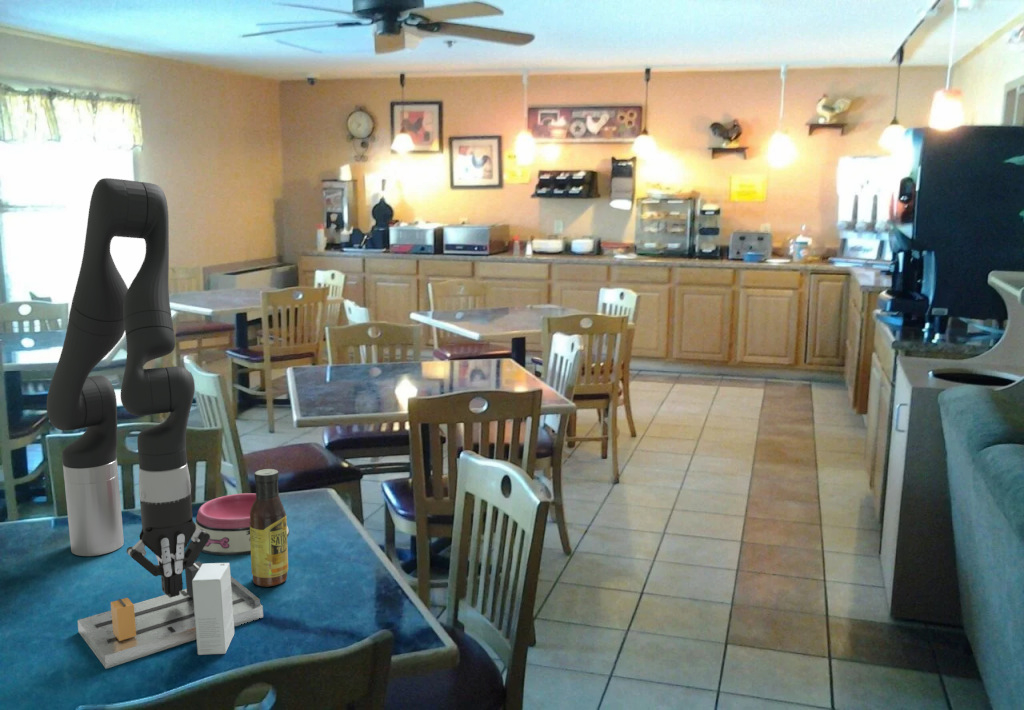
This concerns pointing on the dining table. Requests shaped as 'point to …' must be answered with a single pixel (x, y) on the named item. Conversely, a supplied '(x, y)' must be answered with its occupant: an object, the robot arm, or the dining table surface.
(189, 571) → the block
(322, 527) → the dining table surface
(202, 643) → the skincare box
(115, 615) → the fader orange
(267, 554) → the sauce bottle
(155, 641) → the console
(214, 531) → the dog bowl
